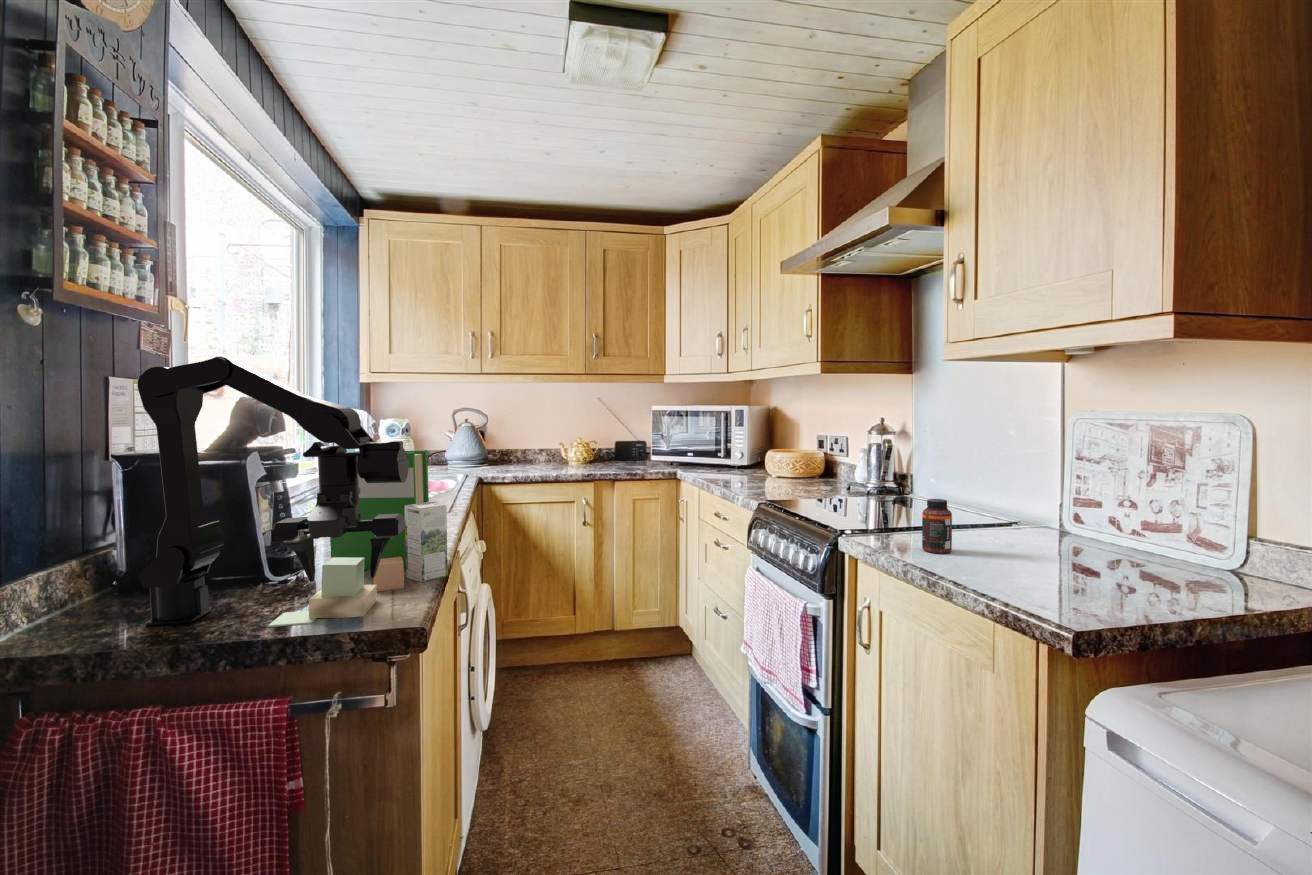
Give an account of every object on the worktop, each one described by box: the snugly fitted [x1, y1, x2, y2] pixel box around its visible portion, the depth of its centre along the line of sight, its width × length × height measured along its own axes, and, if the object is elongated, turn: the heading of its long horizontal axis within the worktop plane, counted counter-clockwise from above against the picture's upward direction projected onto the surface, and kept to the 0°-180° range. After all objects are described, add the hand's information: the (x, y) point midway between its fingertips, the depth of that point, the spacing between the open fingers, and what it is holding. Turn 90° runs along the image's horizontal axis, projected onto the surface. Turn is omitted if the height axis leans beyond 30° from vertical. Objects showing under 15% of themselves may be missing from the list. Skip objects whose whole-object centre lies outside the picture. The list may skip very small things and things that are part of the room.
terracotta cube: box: [372, 557, 405, 592], centre depth 116 cm, size 5×5×5 cm
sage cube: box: [321, 557, 365, 596], centre depth 103 cm, size 5×5×5 cm
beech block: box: [308, 584, 378, 619], centre depth 103 cm, size 8×8×3 cm
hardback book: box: [329, 450, 430, 570], centre depth 131 cm, size 18×7×24 cm, turn 88°
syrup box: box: [405, 501, 449, 583], centre depth 122 cm, size 6×6×14 cm
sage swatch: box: [268, 610, 318, 628], centre depth 99 cm, size 6×6×1 cm
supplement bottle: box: [921, 498, 953, 554], centre depth 138 cm, size 6×6×11 cm
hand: (342, 579), depth 102 cm, fingers open, 9 cm apart
